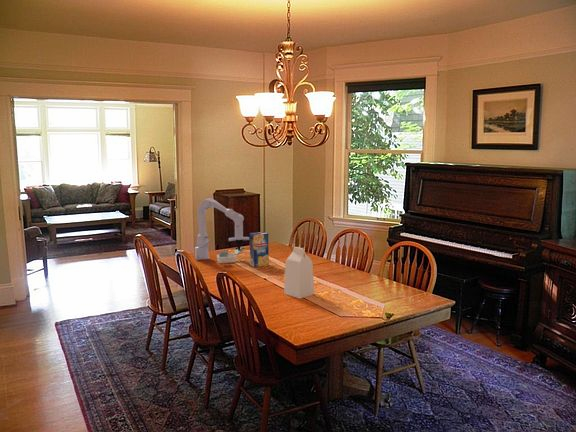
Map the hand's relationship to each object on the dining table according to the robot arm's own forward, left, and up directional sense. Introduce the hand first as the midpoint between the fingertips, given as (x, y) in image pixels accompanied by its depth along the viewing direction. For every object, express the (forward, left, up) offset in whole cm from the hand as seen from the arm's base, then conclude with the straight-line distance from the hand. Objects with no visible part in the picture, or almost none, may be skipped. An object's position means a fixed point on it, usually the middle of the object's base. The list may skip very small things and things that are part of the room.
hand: (239, 250), depth 340 cm
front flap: (-12, -7, 0) cm, 14 cm away
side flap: (-1, 0, 0) cm, 1 cm away
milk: (+16, -86, -7) cm, 88 cm away
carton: (-9, 0, -7) cm, 12 cm away
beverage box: (+10, -18, -7) cm, 22 cm away
